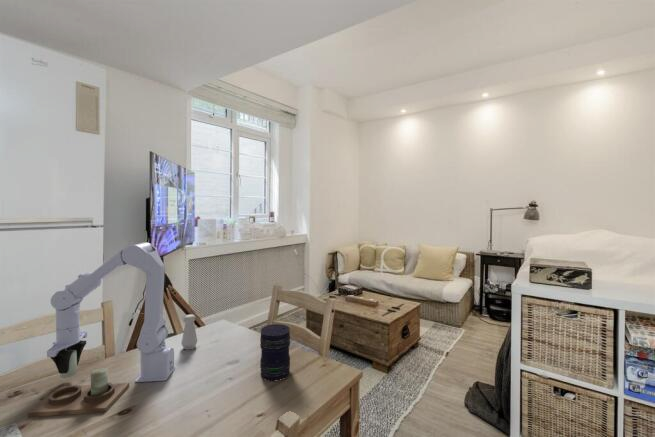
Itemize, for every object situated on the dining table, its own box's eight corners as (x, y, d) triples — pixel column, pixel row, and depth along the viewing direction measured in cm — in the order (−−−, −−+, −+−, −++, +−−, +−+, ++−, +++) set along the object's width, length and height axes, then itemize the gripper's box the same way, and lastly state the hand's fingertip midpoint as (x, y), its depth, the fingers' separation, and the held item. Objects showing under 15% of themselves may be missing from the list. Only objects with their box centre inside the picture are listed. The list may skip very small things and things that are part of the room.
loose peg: (80, 370, 99) (79, 349, 99) (71, 377, 95) (70, 355, 95) (66, 371, 98) (66, 350, 98) (57, 378, 94) (56, 356, 94)
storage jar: (263, 384, 96) (263, 337, 95) (257, 369, 105) (257, 326, 104) (293, 377, 100) (294, 332, 99) (285, 363, 109) (285, 322, 108)
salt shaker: (191, 351, 117) (191, 318, 117) (178, 350, 119) (178, 317, 118) (200, 345, 123) (200, 313, 123) (187, 344, 124) (187, 312, 124)
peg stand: (129, 386, 94) (129, 360, 94) (105, 412, 82) (105, 382, 82) (62, 390, 92) (61, 363, 92) (27, 417, 80) (27, 386, 80)
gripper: (70, 319, 103) (71, 358, 103) (34, 336, 88) (35, 382, 89) (93, 318, 104) (94, 357, 104) (61, 335, 89) (62, 381, 90)
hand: (68, 369), depth 96 cm, fingers closed on loose peg, 4 cm apart
